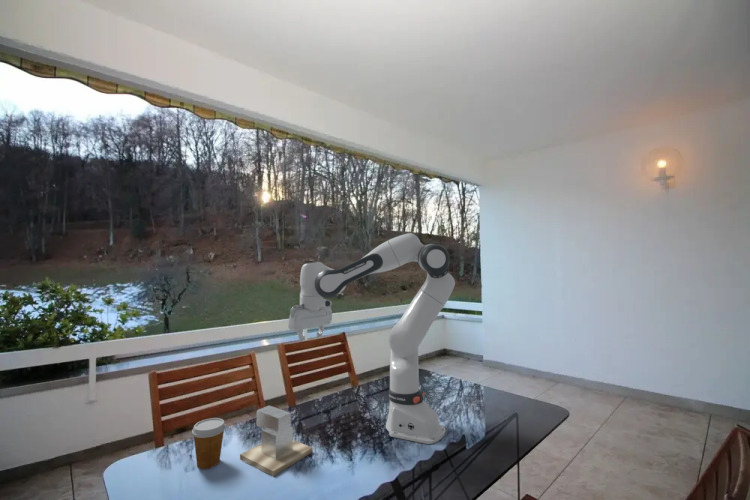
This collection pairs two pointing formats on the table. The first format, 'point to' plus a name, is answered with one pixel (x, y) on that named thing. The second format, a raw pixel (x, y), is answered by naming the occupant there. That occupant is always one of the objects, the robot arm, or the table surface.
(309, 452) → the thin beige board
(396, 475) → the table surface
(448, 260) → the robot arm
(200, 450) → the disposable coffee cup
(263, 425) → the grey stepped block
